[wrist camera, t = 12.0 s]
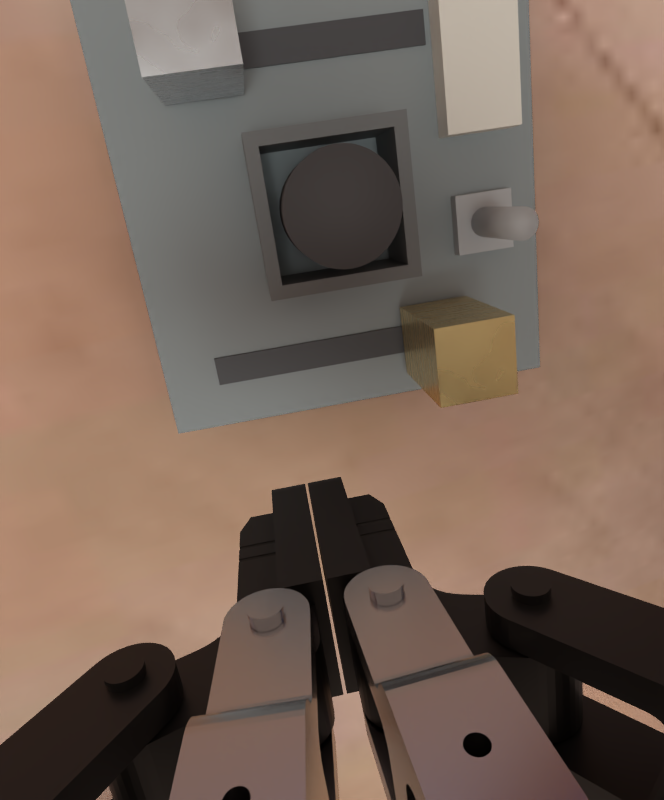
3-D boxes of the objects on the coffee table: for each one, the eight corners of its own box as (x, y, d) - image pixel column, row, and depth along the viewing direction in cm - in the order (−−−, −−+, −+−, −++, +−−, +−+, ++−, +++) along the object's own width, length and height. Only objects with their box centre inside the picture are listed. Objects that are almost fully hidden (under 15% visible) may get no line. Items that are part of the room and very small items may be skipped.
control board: (504, -42, 24) (587, -123, 18) (521, 357, 29) (589, 393, 24) (83, 11, 23) (25, -59, 17) (183, 418, 28) (166, 473, 22)
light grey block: (228, 3, 21) (222, -57, 16) (244, 94, 22) (243, 63, 17) (145, 14, 21) (114, -44, 16) (164, 106, 22) (141, 77, 17)
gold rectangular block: (465, 295, 26) (514, 315, 21) (470, 360, 27) (517, 393, 22) (399, 307, 25) (434, 329, 21) (406, 372, 26) (441, 407, 22)
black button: (376, 144, 22) (396, 134, 19) (388, 253, 23) (408, 259, 20) (270, 160, 21) (274, 152, 19) (288, 269, 23) (294, 278, 20)
